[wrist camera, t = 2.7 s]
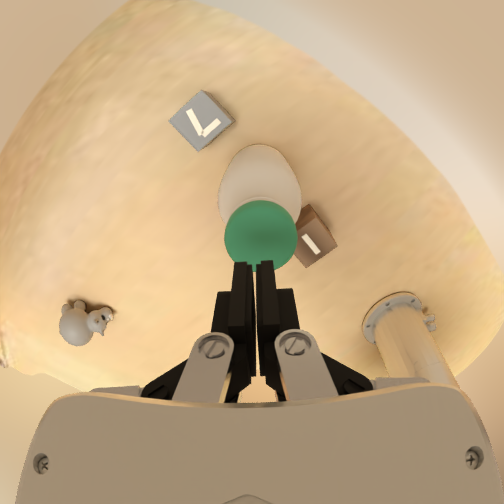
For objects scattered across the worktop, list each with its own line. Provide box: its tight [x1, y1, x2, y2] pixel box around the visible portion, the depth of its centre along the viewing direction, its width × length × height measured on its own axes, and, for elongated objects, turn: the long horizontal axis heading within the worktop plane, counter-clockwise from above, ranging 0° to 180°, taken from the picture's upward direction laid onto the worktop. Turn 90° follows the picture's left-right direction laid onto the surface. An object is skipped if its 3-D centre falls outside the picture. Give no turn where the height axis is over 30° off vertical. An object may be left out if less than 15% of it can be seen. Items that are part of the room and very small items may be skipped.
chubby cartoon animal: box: [59, 300, 114, 346], centre depth 44 cm, size 7×12×8 cm, turn 95°
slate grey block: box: [169, 90, 235, 152], centre depth 29 cm, size 5×5×5 cm
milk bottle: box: [218, 144, 302, 272], centre depth 26 cm, size 8×8×20 cm
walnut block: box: [294, 204, 337, 268], centre depth 36 cm, size 5×5×5 cm
